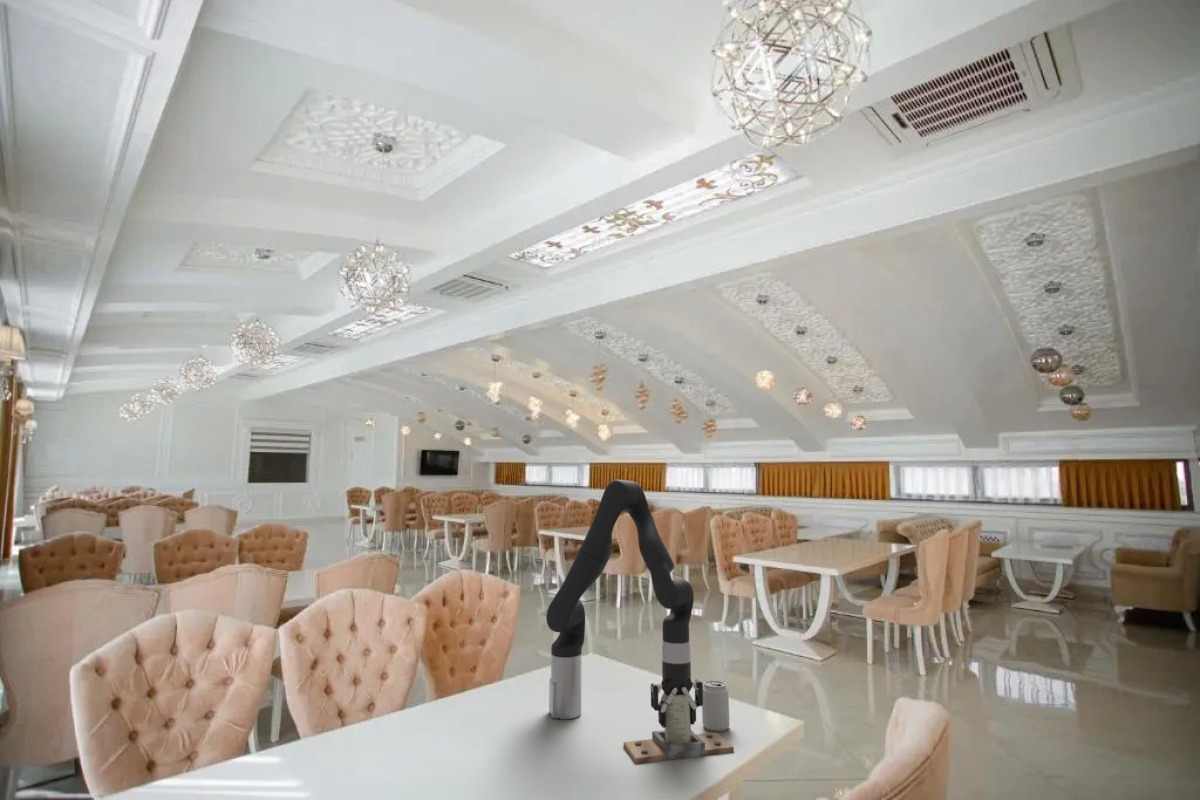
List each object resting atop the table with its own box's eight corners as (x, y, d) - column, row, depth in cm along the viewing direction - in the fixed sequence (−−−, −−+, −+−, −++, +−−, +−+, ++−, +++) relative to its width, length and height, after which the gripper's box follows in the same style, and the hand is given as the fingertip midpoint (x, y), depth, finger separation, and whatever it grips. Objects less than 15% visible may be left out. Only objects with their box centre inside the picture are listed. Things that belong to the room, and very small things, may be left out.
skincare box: (691, 741, 155) (690, 692, 157) (688, 748, 151) (687, 697, 153) (667, 738, 157) (666, 689, 159) (663, 745, 153) (663, 694, 155)
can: (729, 733, 164) (728, 687, 166) (702, 731, 165) (701, 685, 167) (729, 723, 171) (728, 679, 173) (703, 721, 173) (701, 677, 175)
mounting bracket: (635, 764, 146) (635, 750, 146) (623, 746, 155) (623, 734, 156) (734, 752, 152) (733, 739, 153) (716, 736, 162) (715, 724, 163)
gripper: (695, 653, 163) (696, 717, 160) (645, 656, 159) (646, 722, 157) (707, 660, 156) (708, 727, 153) (655, 664, 152) (656, 733, 149)
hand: (677, 725), depth 155 cm, fingers closed on skincare box, 7 cm apart
